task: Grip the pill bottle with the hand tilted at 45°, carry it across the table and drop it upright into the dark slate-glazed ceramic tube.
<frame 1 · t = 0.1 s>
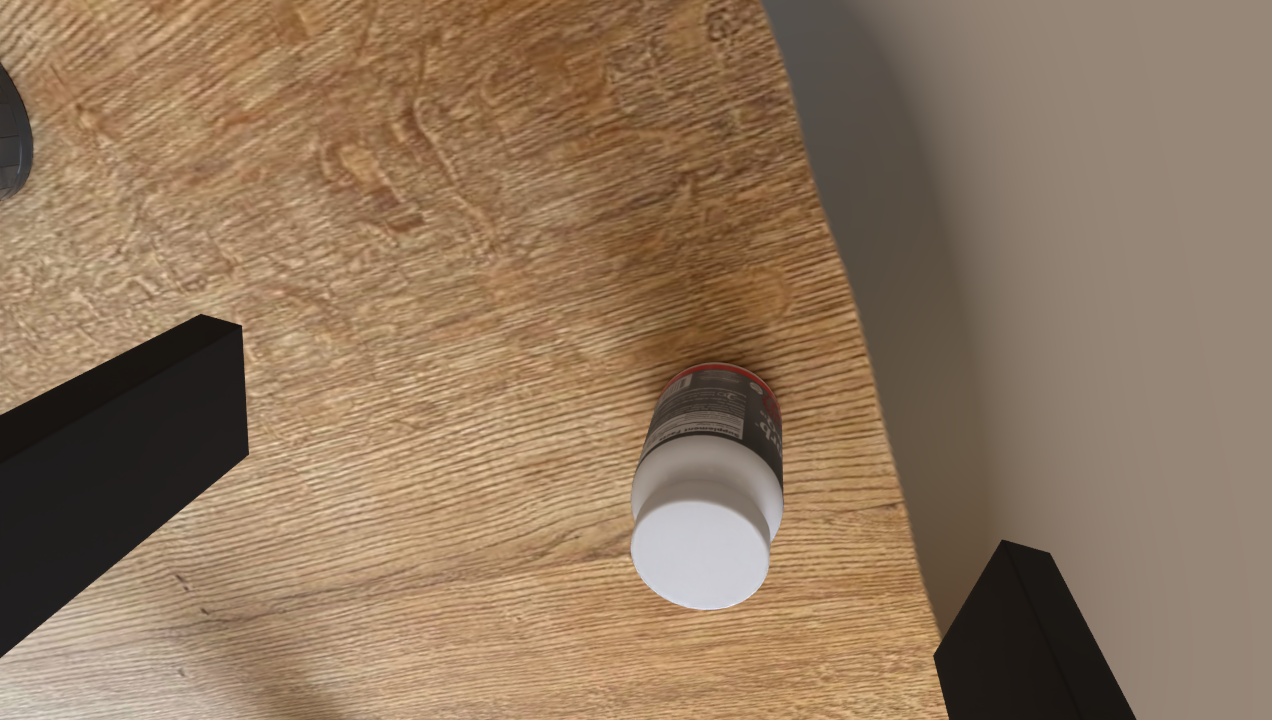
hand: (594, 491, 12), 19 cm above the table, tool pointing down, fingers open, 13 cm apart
pill bottle: (718, 411, 32), on the table
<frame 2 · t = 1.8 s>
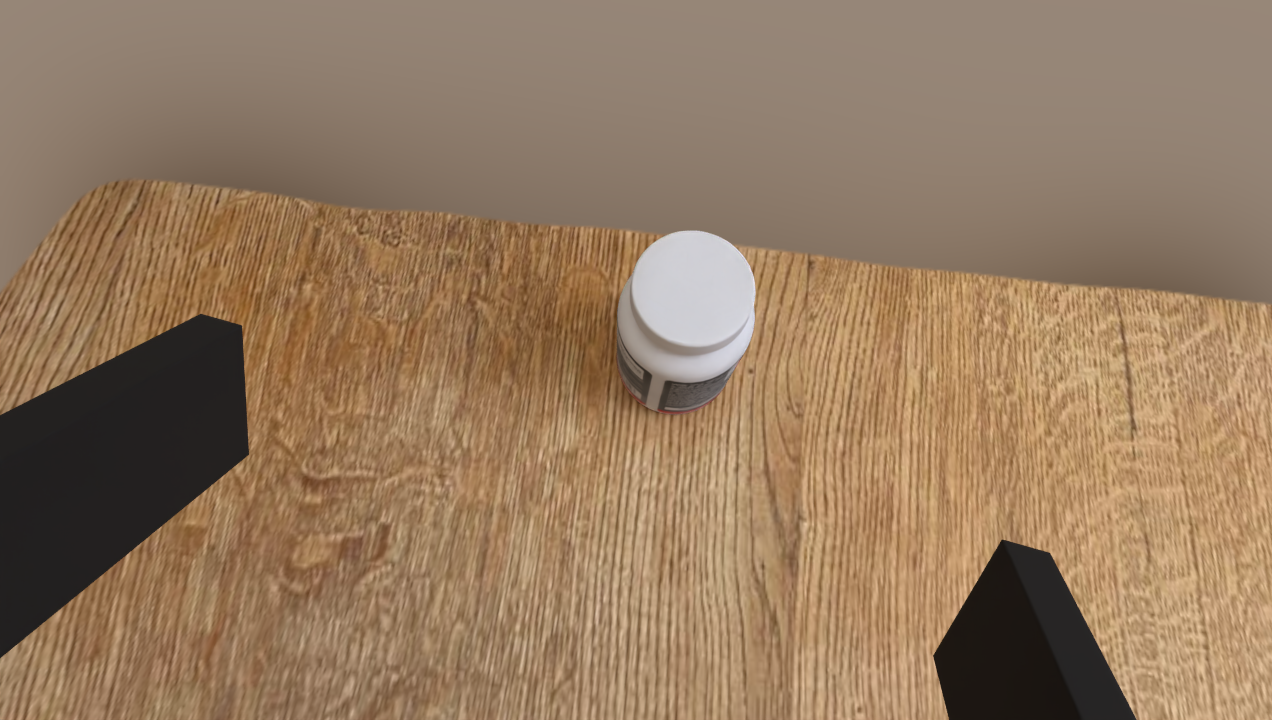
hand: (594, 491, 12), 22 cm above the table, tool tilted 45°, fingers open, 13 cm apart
pill bottle: (672, 362, 36), on the table
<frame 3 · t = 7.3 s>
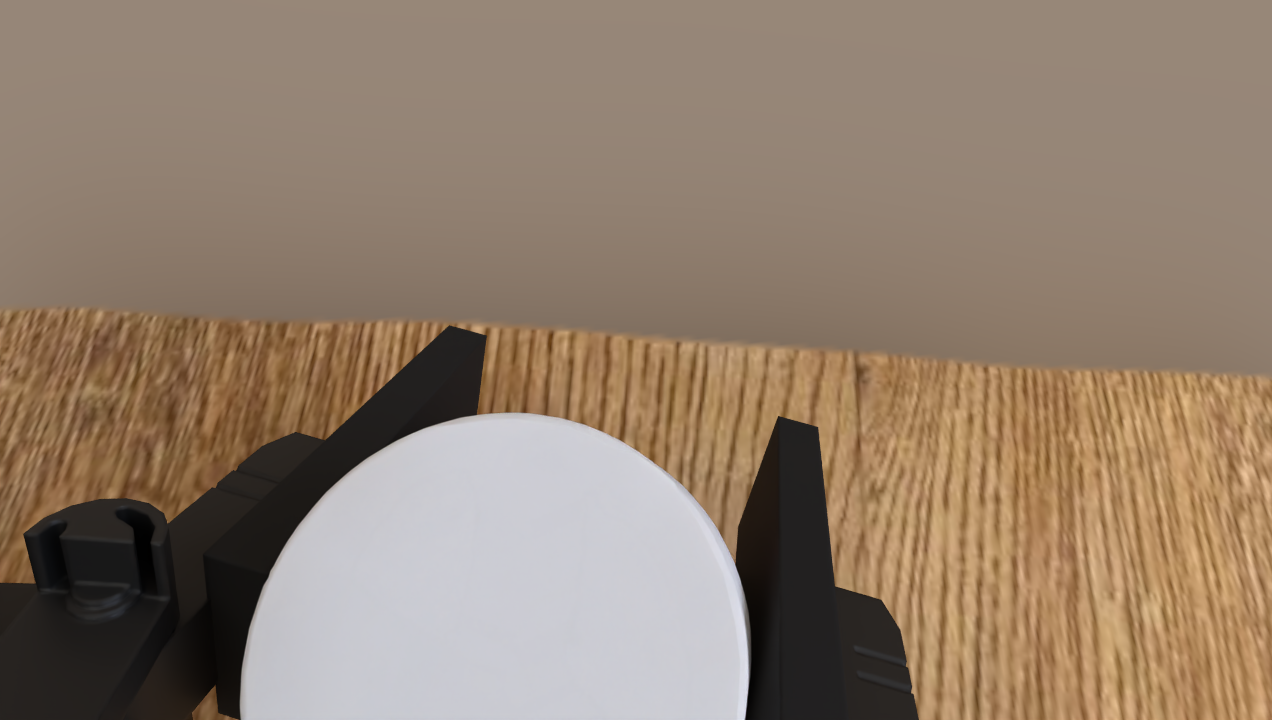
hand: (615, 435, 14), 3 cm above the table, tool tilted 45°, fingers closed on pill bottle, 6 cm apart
pill bottle: (572, 620, 16), on the table, touching gripper
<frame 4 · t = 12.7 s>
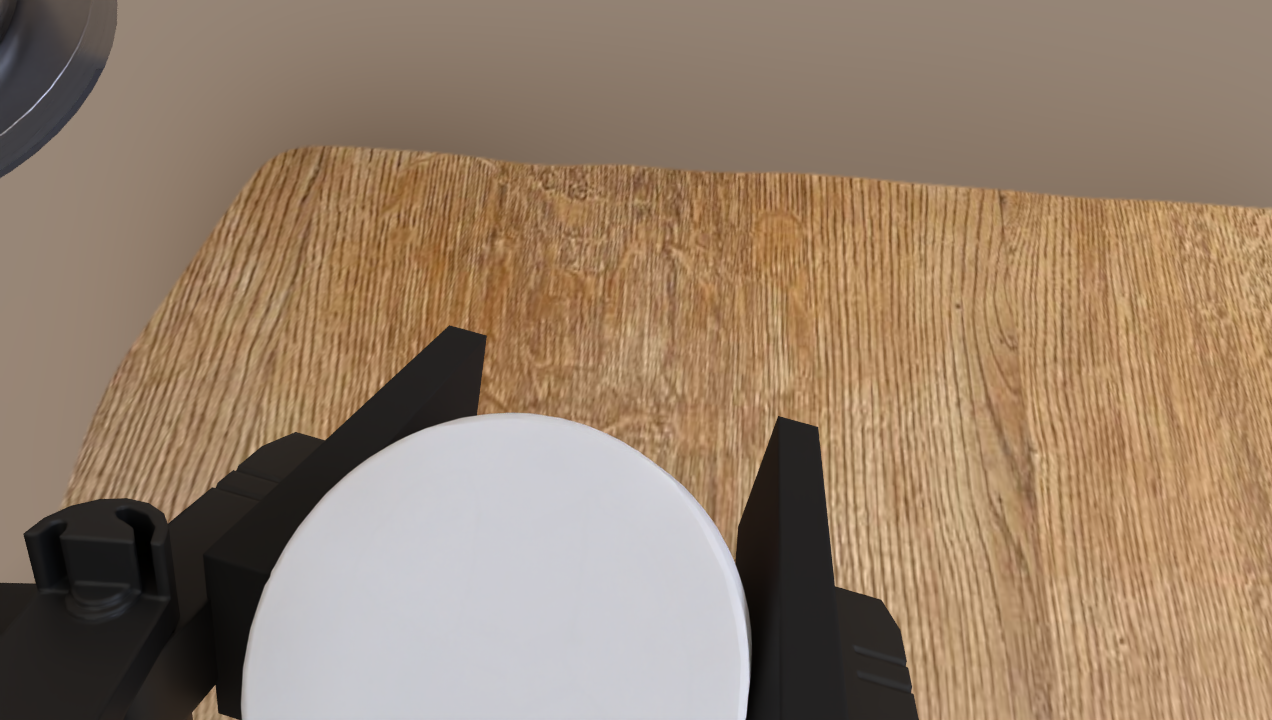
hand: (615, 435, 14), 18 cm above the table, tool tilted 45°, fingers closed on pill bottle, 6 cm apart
pill bottle: (572, 620, 16), point 15 cm above the table, touching gripper
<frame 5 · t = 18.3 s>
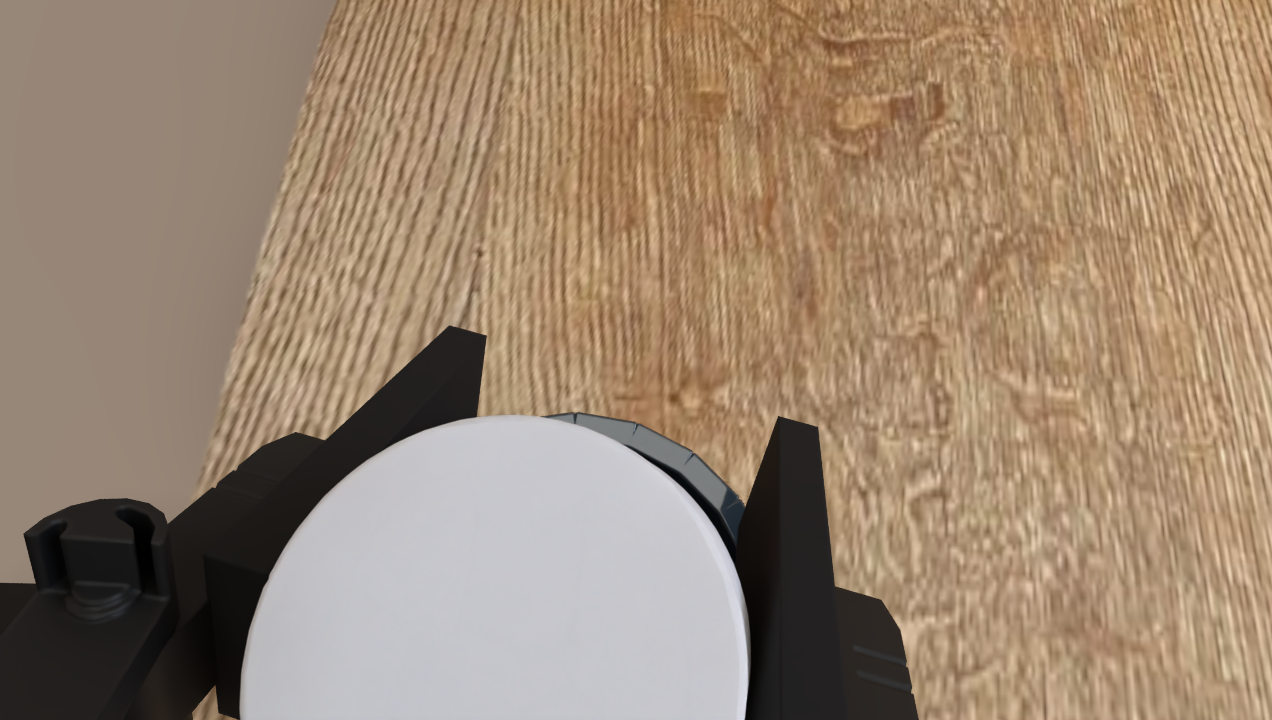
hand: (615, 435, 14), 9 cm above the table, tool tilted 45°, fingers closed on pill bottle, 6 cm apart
pill bottle: (571, 621, 16), point 5 cm above the table, touching gripper
tube: (583, 615, 21), on the table
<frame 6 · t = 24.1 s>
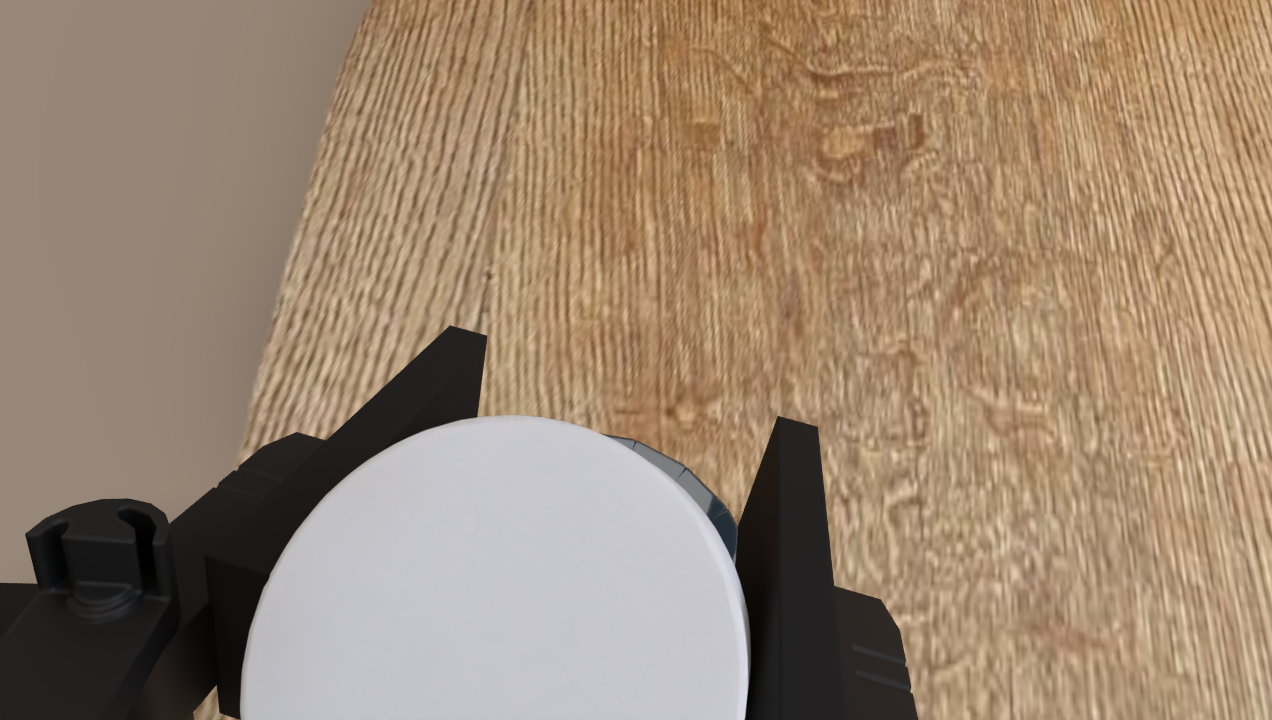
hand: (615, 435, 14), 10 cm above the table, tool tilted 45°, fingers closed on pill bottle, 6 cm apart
pill bottle: (571, 621, 16), point 7 cm above the table, touching gripper
tube: (586, 614, 23), on the table
when the fingers open (12 cm above the table, at t = 29.7 s): pill bottle drops 8 cm, resting on tube.
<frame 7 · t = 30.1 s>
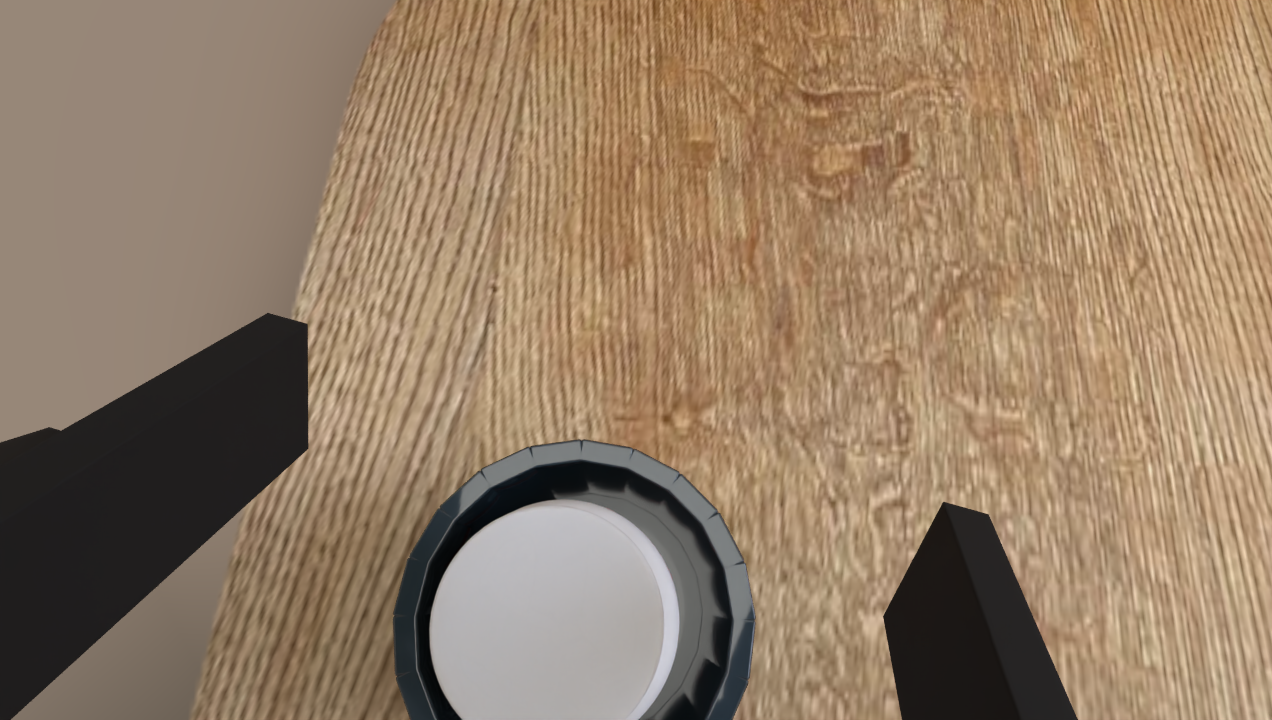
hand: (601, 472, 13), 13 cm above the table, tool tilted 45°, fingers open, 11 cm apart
pill bottle: (578, 611, 23), resting on tube
tube: (587, 610, 24), on the table
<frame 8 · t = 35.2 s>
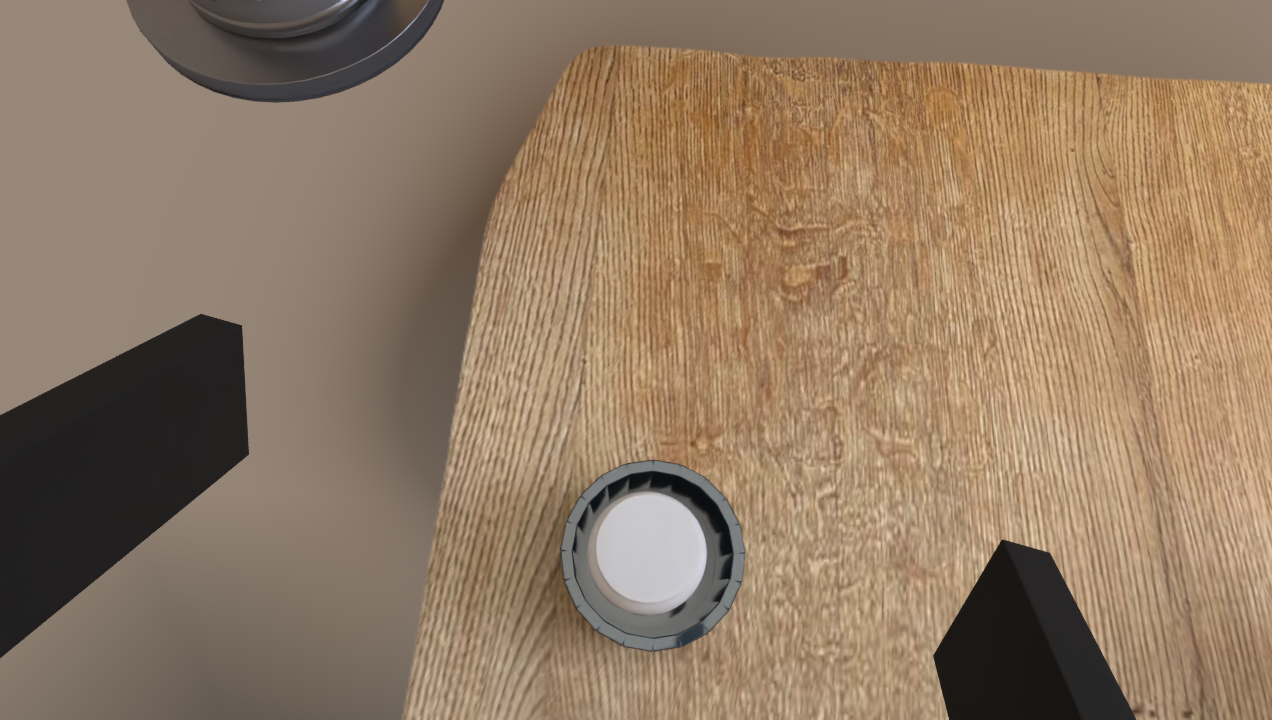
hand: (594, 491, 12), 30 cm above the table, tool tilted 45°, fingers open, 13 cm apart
pill bottle: (642, 558, 40), resting on tube
tube: (647, 558, 40), on the table
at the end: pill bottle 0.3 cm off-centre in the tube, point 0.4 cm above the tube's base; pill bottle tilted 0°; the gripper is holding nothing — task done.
